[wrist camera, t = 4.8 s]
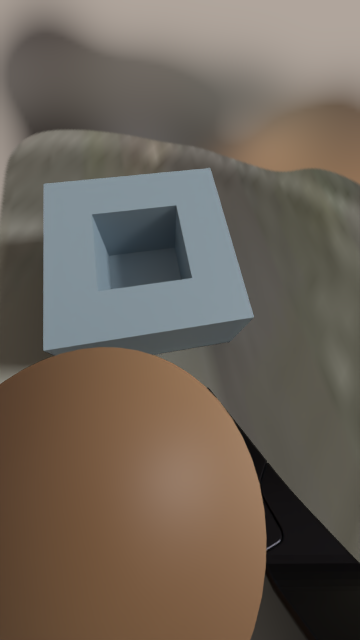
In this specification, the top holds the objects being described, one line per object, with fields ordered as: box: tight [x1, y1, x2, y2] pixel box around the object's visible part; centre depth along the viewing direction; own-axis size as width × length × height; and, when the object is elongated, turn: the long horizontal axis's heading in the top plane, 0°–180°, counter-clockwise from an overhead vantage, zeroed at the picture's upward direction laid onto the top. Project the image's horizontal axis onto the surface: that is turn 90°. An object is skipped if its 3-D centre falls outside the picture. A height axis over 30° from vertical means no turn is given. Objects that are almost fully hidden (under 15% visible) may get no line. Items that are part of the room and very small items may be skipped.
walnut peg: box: [0, 347, 267, 640], centre depth 9 cm, size 4×4×13 cm
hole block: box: [43, 168, 254, 356], centre depth 15 cm, size 10×10×5 cm
